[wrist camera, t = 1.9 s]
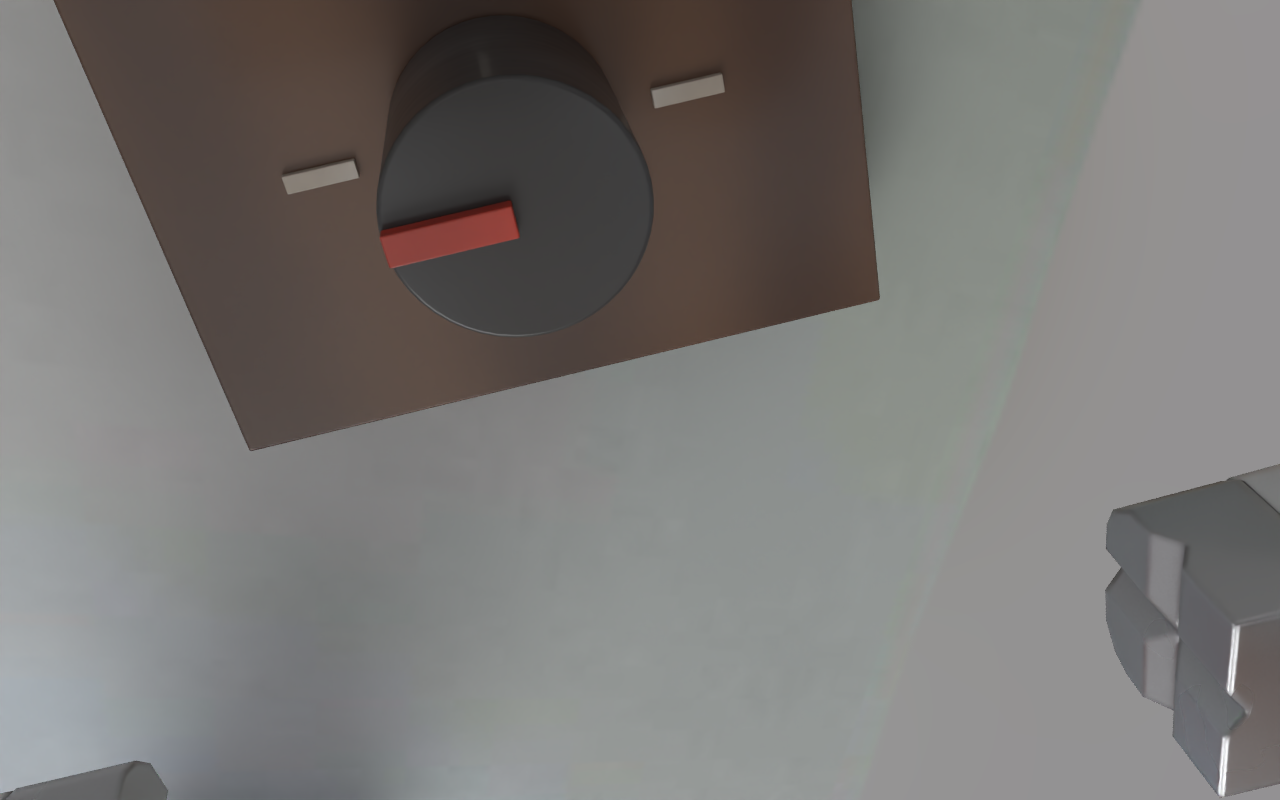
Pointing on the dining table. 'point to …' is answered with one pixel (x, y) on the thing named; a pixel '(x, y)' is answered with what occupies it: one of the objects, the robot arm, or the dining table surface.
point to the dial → (511, 180)
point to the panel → (350, 167)
